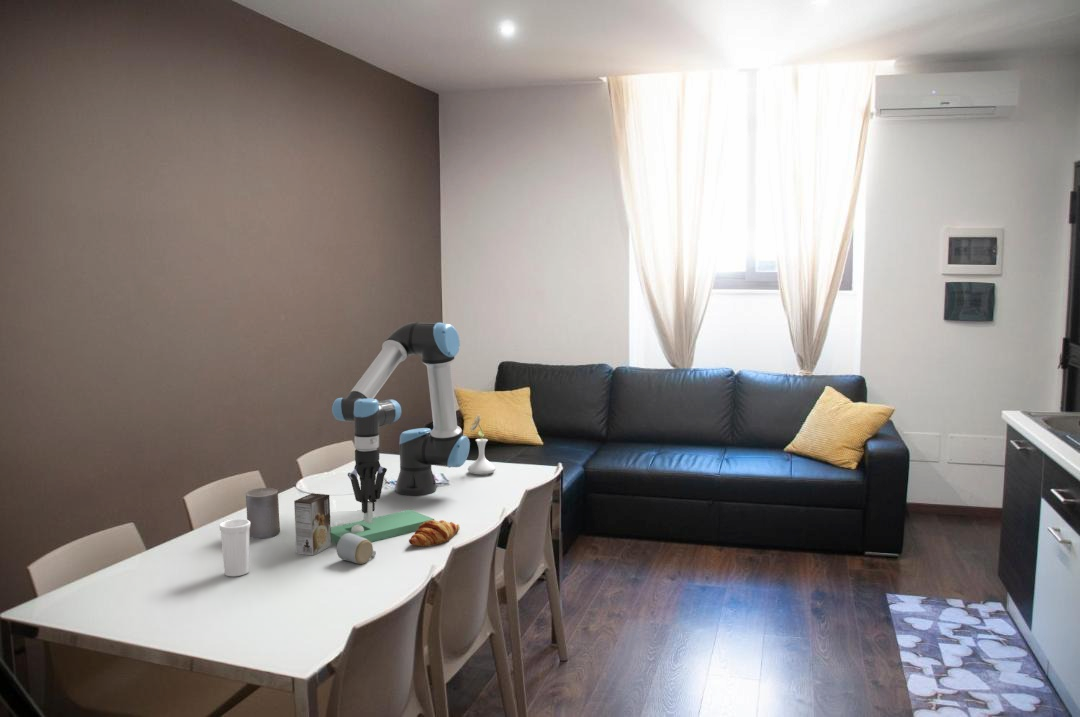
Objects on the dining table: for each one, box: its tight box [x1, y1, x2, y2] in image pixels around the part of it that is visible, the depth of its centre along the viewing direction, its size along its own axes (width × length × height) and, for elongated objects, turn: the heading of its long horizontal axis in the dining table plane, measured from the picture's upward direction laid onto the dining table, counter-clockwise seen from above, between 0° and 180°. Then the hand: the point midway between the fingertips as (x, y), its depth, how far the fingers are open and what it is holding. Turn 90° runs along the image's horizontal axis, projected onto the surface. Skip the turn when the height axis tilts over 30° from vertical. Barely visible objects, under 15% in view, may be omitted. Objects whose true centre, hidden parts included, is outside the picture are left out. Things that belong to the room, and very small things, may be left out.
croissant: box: [408, 519, 460, 547], centre depth 264 cm, size 21×10×8 cm, turn 144°
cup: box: [218, 518, 251, 577], centre depth 234 cm, size 8×8×14 cm
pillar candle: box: [245, 487, 281, 540], centre depth 268 cm, size 10×10×15 cm
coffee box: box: [293, 492, 332, 556], centre depth 254 cm, size 9×6×16 cm
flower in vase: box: [467, 413, 496, 476], centre depth 345 cm, size 13×11×25 cm
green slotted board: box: [330, 509, 435, 544], centre depth 272 cm, size 32×14×2 cm, turn 132°
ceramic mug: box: [336, 533, 377, 565], centre depth 246 cm, size 11×8×8 cm
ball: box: [351, 525, 364, 533], centre depth 266 cm, size 4×4×4 cm
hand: (368, 522), depth 269 cm, fingers closed
